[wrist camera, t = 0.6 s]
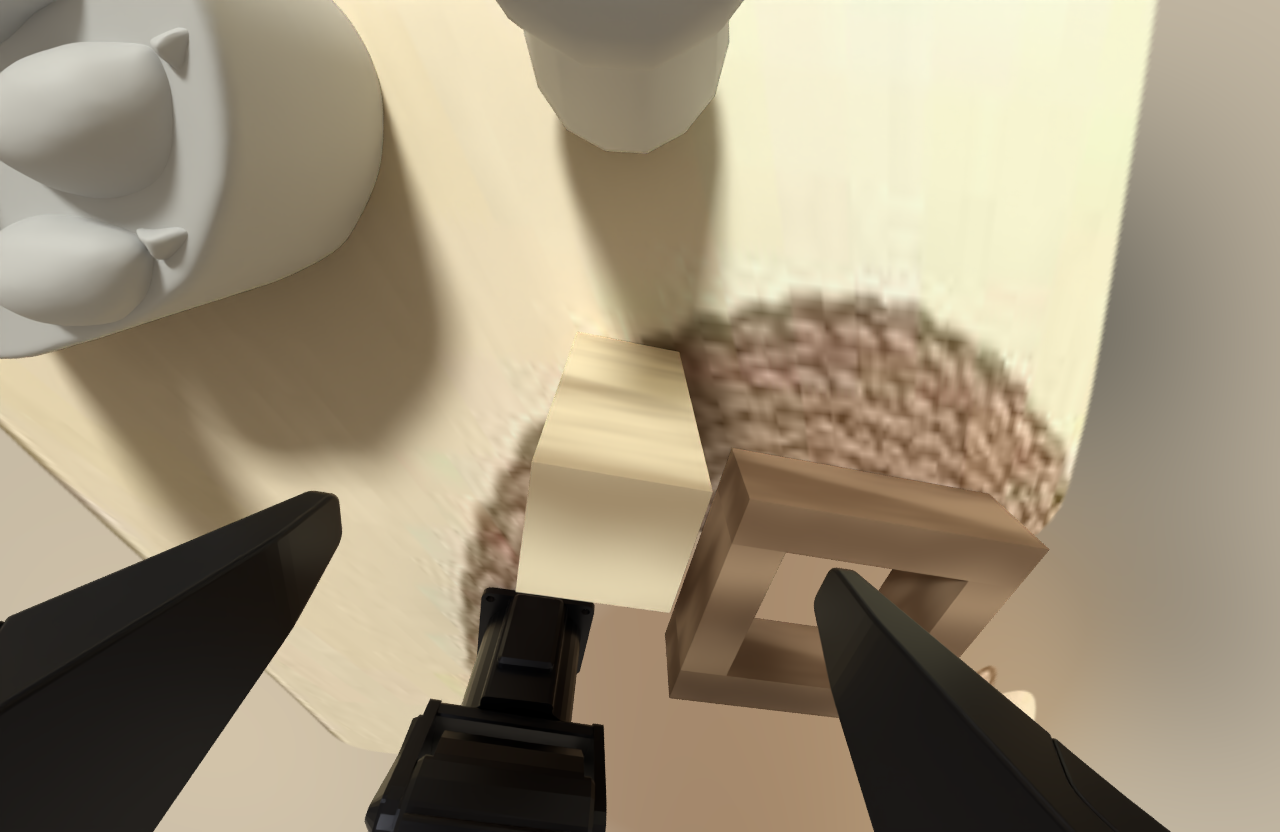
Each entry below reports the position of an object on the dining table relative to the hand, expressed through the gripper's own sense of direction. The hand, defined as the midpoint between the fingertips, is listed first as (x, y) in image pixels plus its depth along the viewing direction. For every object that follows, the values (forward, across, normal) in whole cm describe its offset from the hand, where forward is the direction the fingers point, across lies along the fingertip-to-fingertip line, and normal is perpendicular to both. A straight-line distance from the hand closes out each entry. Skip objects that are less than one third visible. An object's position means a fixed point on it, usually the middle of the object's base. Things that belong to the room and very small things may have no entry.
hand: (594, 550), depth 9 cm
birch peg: (+13, -1, +2) cm, 13 cm away
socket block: (+13, -14, +11) cm, 22 cm away
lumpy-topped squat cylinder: (+13, +15, -5) cm, 21 cm away
